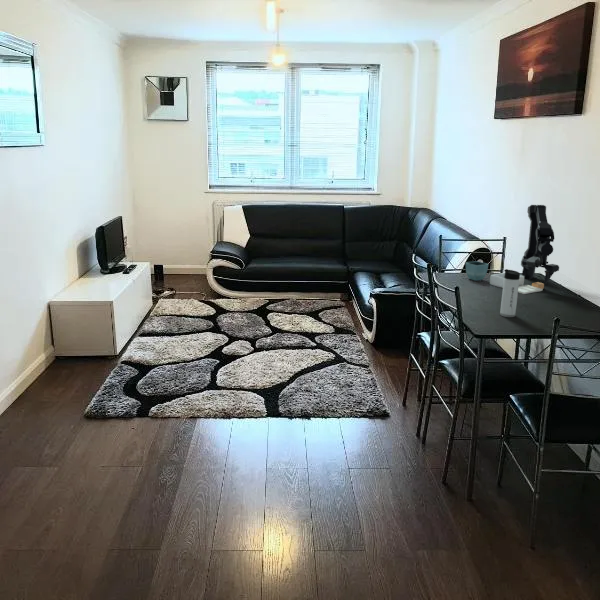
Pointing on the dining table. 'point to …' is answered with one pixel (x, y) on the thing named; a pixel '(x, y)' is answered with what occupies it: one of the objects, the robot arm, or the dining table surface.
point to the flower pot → (476, 270)
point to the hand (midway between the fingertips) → (538, 281)
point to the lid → (531, 288)
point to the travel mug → (510, 293)
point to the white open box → (502, 280)
